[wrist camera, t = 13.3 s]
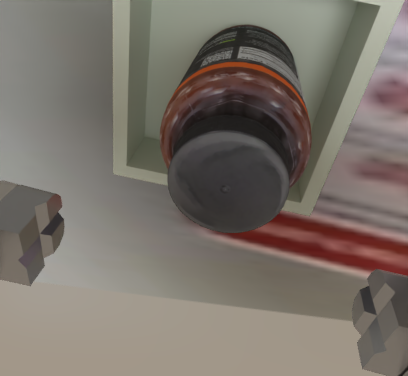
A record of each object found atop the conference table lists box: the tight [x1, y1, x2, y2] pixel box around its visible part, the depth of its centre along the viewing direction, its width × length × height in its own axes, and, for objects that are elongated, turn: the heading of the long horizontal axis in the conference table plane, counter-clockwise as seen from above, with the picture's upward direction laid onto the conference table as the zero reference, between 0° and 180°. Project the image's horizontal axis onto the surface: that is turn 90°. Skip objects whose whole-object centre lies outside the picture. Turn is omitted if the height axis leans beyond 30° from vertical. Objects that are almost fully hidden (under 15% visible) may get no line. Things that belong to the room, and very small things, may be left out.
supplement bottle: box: [159, 25, 312, 233], centre depth 16 cm, size 6×6×11 cm
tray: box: [113, 0, 405, 216], centre depth 19 cm, size 12×12×4 cm
